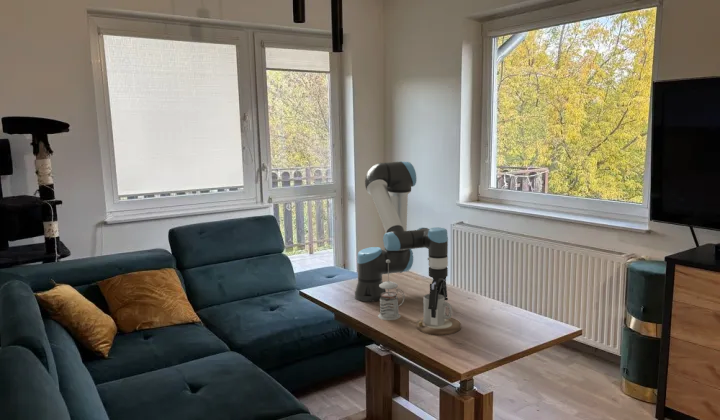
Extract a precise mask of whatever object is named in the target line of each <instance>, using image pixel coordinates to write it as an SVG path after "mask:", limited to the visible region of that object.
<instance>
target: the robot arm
mask: <svg viewBox="0 0 720 420" xmlns="http://www.w3.org/2000/svg"><path fill="white" fill-rule="evenodd" d="M364 178H365V179H364V187H365V190H366V193H367V194H368V195H370V196H371V199H372V201H373V203H374V206H375V208H376V211H377V214H378V216H379V218H380V221H381V224H382V227H383V229H384V232H385V233H384V234H383V239H382V241H383V246H384V249H382V248H381V247H378V246H371V247H366V248H363V249H360V250H359V251H358V252H357V259H356V262H357V284H356V286H355V291H354V298H355V299H356V300H358V301H362V302H377V301H378V302H380V297H381V293H383V292H387V291H386V290H387V289H382V288H380V287H379V285H380V284H381V283H383V282H384V281H383V275H388V265H389V274H398V273H405V272H406V273H407V272H408V271H410V270H411V269H412V267H413V265H414V264H413V263H414V255H413V254H414V253H413V250H412V249H414V250H415V249H423V248H425V249H428V257H427V261H428V276H429V277H430V278H431V279H432V281H431V283H429V294H430V295H429V307H428V309H431V325H438V309H437V304H438V297H439V294H440V295H443V296H444V298H445V302H446V301H448V300H449V298H448V290H447V277H448V276H449V275H448V273H449V272H448V271H449V269H448V266H449V264H448V263H449V261H448V260H449V257H448V249H449V248H448V245H449V244H448V243H449V237H448V230H447V228H445V227H429V228H428V227H419V228H418V229H414V230H408V229H407V228H408V227H407V226H408V224H407V223H408V200H409V197H408V196H409V194H410V193H411V192H412V187H415V185H416V184H417V172H416V169H415V166H414V165H413V164H412V163H411V162H409V161H391V162H378V163H375V164H374V165H372V166H371V167H370V168H369V169H368V171H367V172H366V174H365V177H364ZM386 260H390V263H386ZM446 308H447V306H445V315H447V314H446Z"/></svg>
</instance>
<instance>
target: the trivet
mask: <svg viewBox="0 0 720 420" xmlns="http://www.w3.org/2000/svg"><path fill="white" fill-rule="evenodd" d="M415 327H416V329H417V331H420V332H421V333H424V334H426V335H427V334H428V335H431V336H432V335H433V336H447V335H449V336H450V335H452V334H456V333H458V332H459V331H461V328H462V323H461V321H460V320H458V319H456V318H454V317H451V318H450V319H445V323H444V324H443V325H441V326H428V325H426V324H424V316H422V317H421V318H419V319H417V320H416V322H415Z"/></svg>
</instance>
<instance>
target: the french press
mask: <svg viewBox="0 0 720 420" xmlns="http://www.w3.org/2000/svg"><path fill="white" fill-rule="evenodd" d="M386 263H390V260H386ZM387 277H388V278H387V280H388V281H382V282H383V283H381V284H380V285H379V287H380V288H382V289H385V290H387V291H386V292H383V293H381V297H380V300H379V314H378V315H377V317H378V319H380V320H384V321H395V320H398V319H400V318H401V314H400V313H399V312H400V311H399V307H400V306H402V305H403V304H404V302H405V293H404V291H403V290H402V289H400V288H398V286H399V284H398V283H396V282H395V281H391V280H390V277H389V265H388V274H387ZM396 288H397V292H401V296H402V302H401V303H399V297H398V293H397V292H394V291H390V290H394V289H396Z"/></svg>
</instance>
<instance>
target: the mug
mask: <svg viewBox="0 0 720 420" xmlns="http://www.w3.org/2000/svg"><path fill="white" fill-rule="evenodd" d="M429 295H430V293H427V294H425V295H424V296H423V317H424V324H426V325H428V326H441V325H443V324H444V323H445V319H450V318H452V315H453V308H452V305H451V303H449V302H445V301H446V300H445V298H444V296H443V295H440V294H439V297H438V304H437V309H438V325H431V309H428V307H429ZM445 306H446V308H448V309H449V311H448V312H449V313H448V314H446V315H445Z"/></svg>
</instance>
